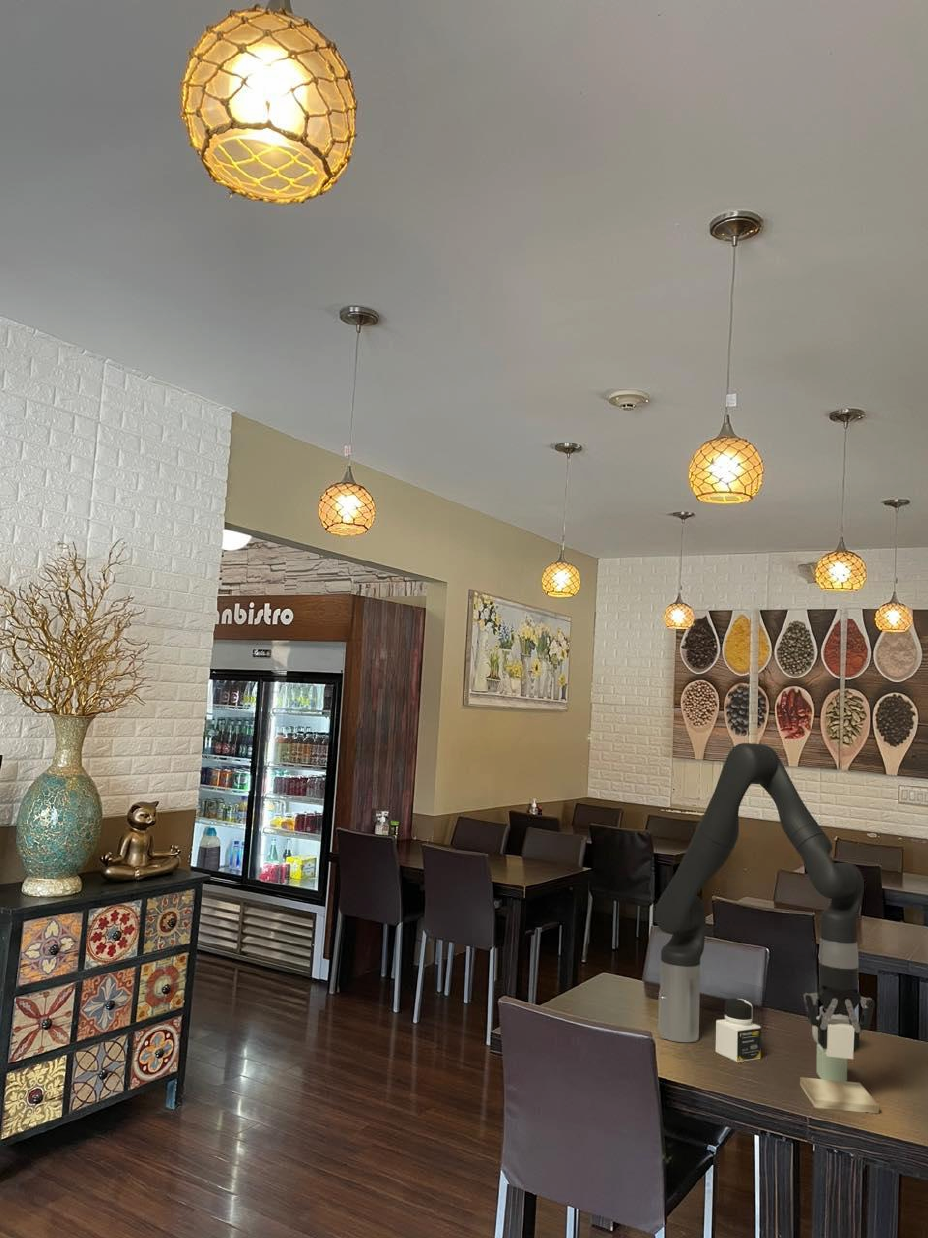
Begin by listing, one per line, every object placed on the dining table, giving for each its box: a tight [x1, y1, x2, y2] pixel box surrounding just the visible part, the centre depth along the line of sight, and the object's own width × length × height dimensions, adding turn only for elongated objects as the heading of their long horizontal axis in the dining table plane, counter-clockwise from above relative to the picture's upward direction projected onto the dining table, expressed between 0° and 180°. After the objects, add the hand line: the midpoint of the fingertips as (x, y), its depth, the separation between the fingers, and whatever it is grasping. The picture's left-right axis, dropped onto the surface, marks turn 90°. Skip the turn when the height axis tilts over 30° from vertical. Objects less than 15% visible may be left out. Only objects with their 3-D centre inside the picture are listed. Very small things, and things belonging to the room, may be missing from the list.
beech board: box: [799, 1076, 880, 1114], centre depth 188 cm, size 12×12×2 cm
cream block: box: [820, 1018, 854, 1060], centre depth 190 cm, size 5×5×6 cm
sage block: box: [816, 1043, 848, 1082], centre depth 200 cm, size 5×5×6 cm
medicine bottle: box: [715, 998, 762, 1063], centre depth 211 cm, size 7×7×12 cm
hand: (838, 1048), depth 189 cm, fingers closed on cream block, 5 cm apart
